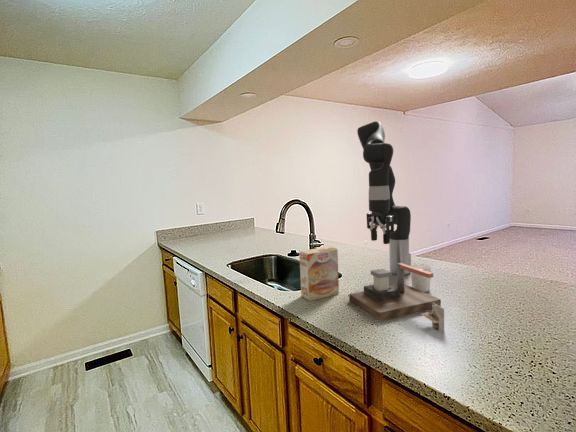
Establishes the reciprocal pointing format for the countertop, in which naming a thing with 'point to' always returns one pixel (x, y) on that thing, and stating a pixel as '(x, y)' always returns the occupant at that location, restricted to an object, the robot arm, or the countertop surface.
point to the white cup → (421, 278)
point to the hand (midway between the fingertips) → (380, 241)
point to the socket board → (392, 301)
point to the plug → (381, 279)
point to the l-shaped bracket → (402, 267)
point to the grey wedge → (436, 316)
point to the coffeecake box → (319, 273)
